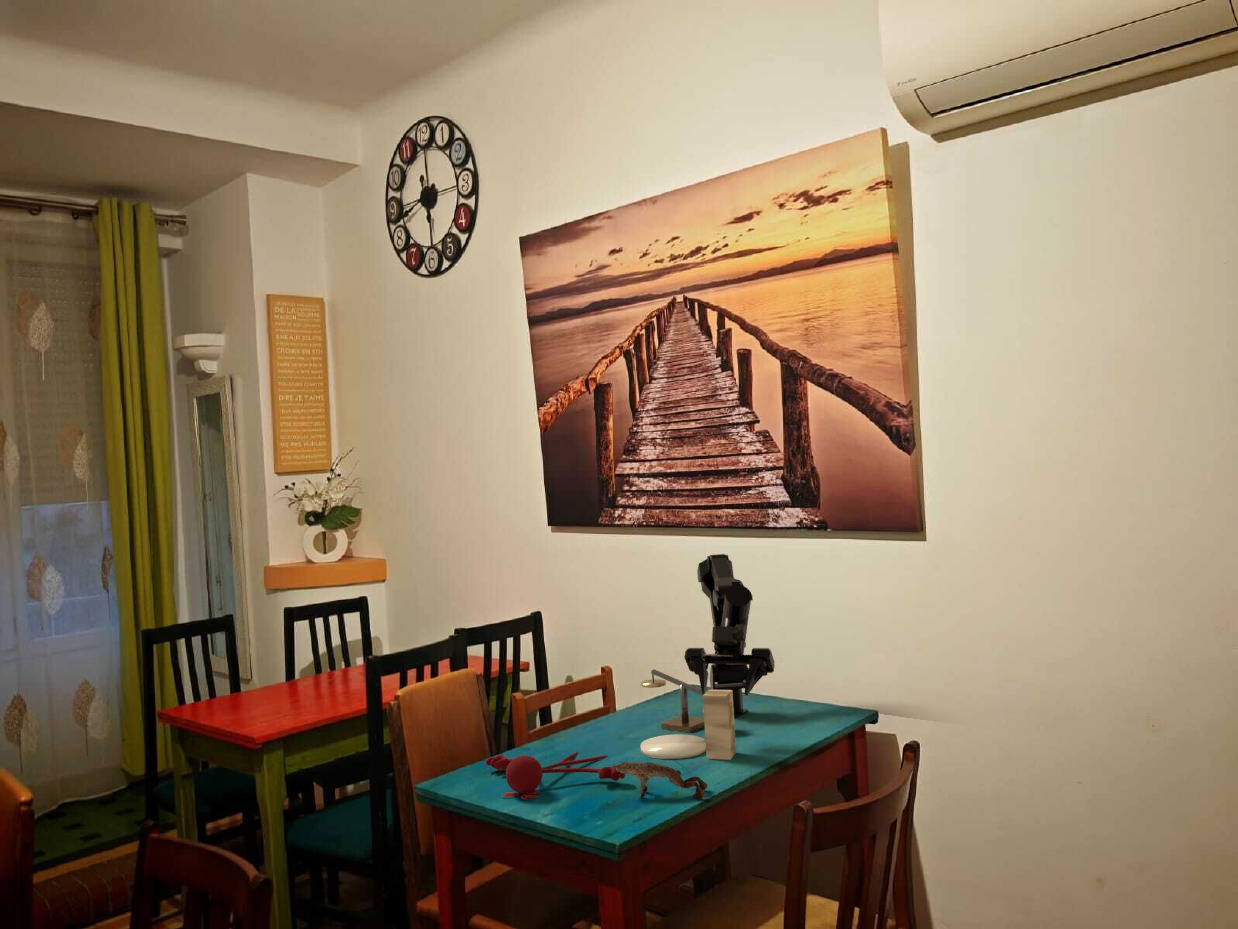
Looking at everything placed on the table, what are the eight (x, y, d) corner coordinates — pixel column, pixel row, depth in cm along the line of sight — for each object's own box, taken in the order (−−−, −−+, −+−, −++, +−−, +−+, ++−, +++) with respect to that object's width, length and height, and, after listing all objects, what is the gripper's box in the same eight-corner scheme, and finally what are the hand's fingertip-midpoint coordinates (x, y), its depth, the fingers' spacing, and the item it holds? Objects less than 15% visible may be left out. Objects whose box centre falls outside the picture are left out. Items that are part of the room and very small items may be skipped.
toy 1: (532, 766, 224) (447, 790, 198) (532, 731, 225) (449, 750, 199) (663, 781, 210) (591, 809, 183) (663, 743, 210) (591, 766, 184)
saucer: (667, 737, 227) (667, 731, 227) (719, 745, 218) (719, 739, 218) (627, 753, 217) (627, 747, 217) (680, 762, 208) (680, 756, 208)
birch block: (712, 751, 214) (709, 689, 214) (736, 752, 212) (732, 690, 212) (706, 758, 209) (702, 695, 209) (730, 759, 208) (726, 695, 208)
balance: (656, 716, 246) (652, 665, 246) (738, 728, 231) (734, 673, 231) (635, 724, 240) (632, 672, 240) (718, 737, 225) (714, 681, 225)
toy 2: (681, 821, 191) (613, 768, 193) (710, 783, 190) (642, 730, 192) (677, 832, 185) (608, 778, 187) (707, 793, 184) (637, 738, 186)
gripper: (683, 611, 224) (672, 672, 213) (768, 610, 217) (761, 673, 207) (695, 640, 231) (685, 701, 221) (777, 640, 225) (771, 703, 214)
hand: (724, 694), depth 216 cm, fingers open, 9 cm apart
